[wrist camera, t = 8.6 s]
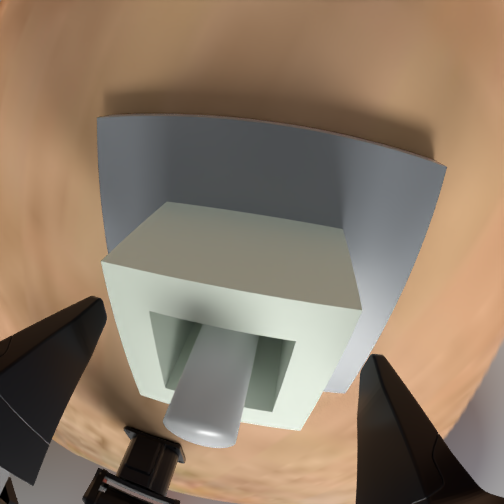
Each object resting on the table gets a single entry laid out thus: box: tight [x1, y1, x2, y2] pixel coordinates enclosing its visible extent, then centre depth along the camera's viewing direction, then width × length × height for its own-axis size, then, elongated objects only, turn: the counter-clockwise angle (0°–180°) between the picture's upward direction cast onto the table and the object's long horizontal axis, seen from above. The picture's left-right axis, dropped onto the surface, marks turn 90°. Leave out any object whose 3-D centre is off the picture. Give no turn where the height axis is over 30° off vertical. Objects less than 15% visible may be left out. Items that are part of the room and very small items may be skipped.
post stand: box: [97, 114, 447, 448], centre depth 9 cm, size 12×12×7 cm
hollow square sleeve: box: [101, 202, 362, 431], centre depth 9 cm, size 6×6×4 cm
